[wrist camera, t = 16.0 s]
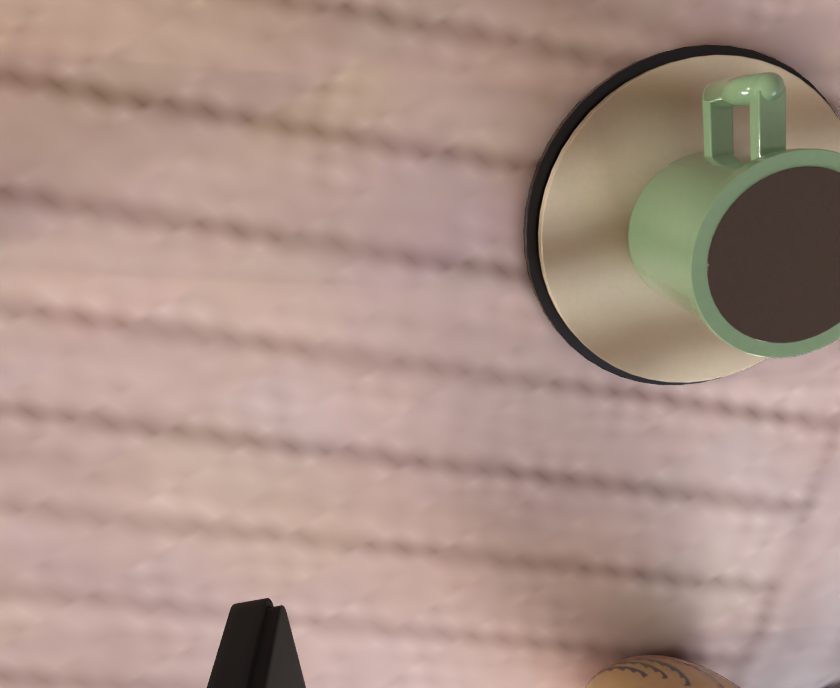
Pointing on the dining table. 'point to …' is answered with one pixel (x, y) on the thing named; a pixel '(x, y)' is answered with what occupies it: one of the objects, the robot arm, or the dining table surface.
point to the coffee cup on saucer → (698, 221)
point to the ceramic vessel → (658, 674)
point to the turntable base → (552, 154)
